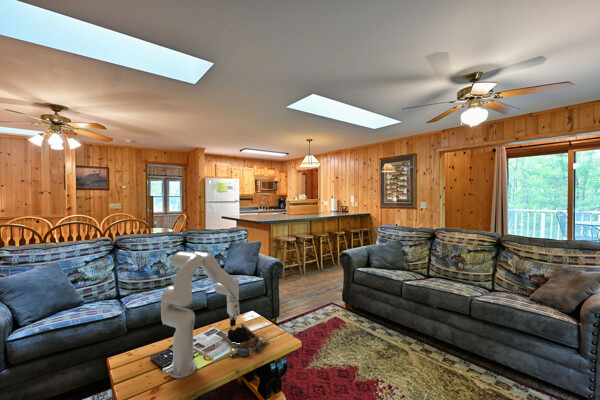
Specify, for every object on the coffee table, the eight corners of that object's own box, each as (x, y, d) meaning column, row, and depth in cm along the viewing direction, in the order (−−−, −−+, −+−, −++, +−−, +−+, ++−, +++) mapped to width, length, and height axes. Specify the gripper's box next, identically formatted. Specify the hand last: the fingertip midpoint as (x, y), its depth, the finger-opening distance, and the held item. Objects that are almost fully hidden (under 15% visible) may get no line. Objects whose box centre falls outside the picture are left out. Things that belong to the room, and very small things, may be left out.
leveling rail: (229, 359, 144) (229, 358, 144) (227, 356, 147) (227, 354, 147) (269, 343, 159) (269, 342, 159) (266, 340, 162) (266, 339, 162)
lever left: (228, 356, 146) (228, 349, 146) (232, 351, 150) (232, 345, 150) (248, 358, 144) (248, 351, 144) (251, 353, 148) (251, 347, 148)
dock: (233, 351, 151) (233, 346, 150) (219, 335, 168) (219, 330, 168) (258, 342, 160) (258, 337, 160) (242, 327, 178) (242, 323, 178)
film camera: (254, 338, 165) (254, 324, 165) (248, 346, 156) (248, 331, 156) (233, 335, 169) (233, 321, 169) (225, 343, 160) (225, 328, 160)
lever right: (259, 340, 161) (259, 335, 161) (266, 341, 160) (266, 335, 160) (253, 351, 150) (253, 345, 150) (260, 352, 149) (260, 346, 149)
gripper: (243, 299, 167) (243, 328, 167) (233, 293, 179) (233, 319, 179) (231, 302, 162) (232, 332, 163) (222, 295, 174) (223, 323, 175)
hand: (232, 325), depth 171 cm, fingers closed
